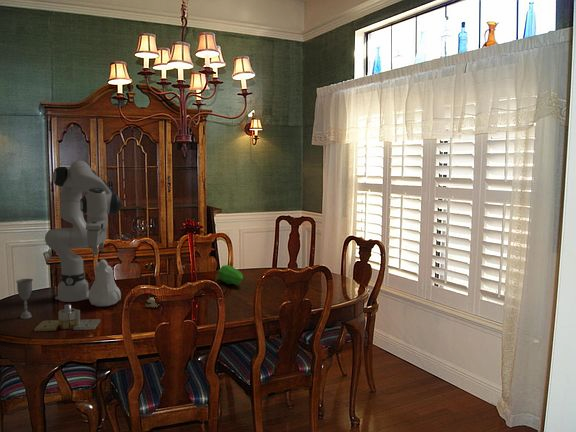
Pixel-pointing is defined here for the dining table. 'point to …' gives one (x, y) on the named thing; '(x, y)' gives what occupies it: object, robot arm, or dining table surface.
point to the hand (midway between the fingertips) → (98, 253)
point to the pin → (67, 308)
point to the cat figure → (151, 303)
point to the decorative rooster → (104, 286)
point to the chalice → (24, 294)
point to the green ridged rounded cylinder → (230, 275)
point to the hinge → (68, 322)
